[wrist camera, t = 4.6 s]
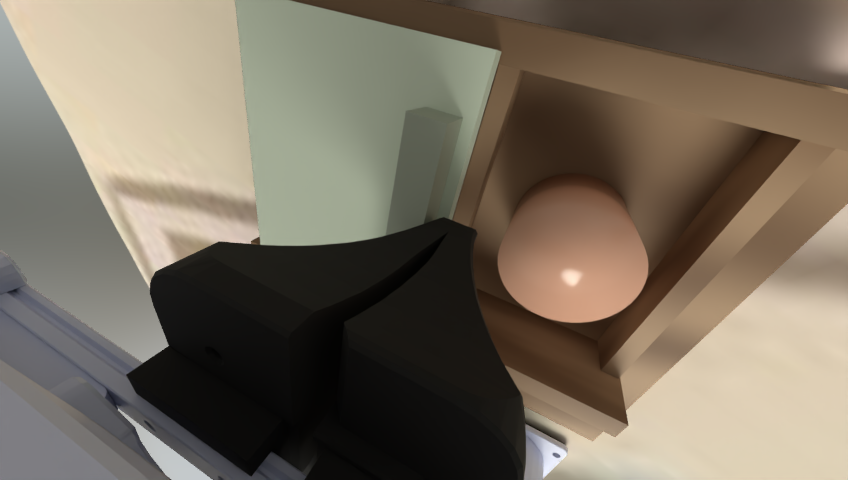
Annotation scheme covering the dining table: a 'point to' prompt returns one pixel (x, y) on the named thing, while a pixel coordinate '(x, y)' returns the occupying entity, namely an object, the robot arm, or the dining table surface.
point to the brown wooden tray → (634, 191)
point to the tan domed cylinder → (572, 250)
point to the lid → (355, 121)
